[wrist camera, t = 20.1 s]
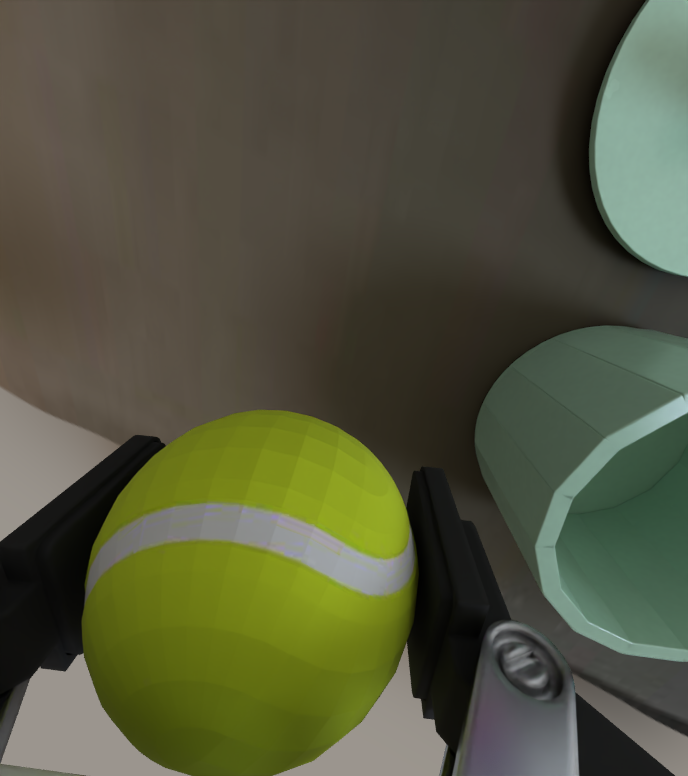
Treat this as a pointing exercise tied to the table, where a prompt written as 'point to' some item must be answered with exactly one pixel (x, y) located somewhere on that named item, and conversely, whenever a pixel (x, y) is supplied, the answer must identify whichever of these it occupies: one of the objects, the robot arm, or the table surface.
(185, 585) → the tennis ball
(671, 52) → the pot lid
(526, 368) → the pot
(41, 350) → the table surface
